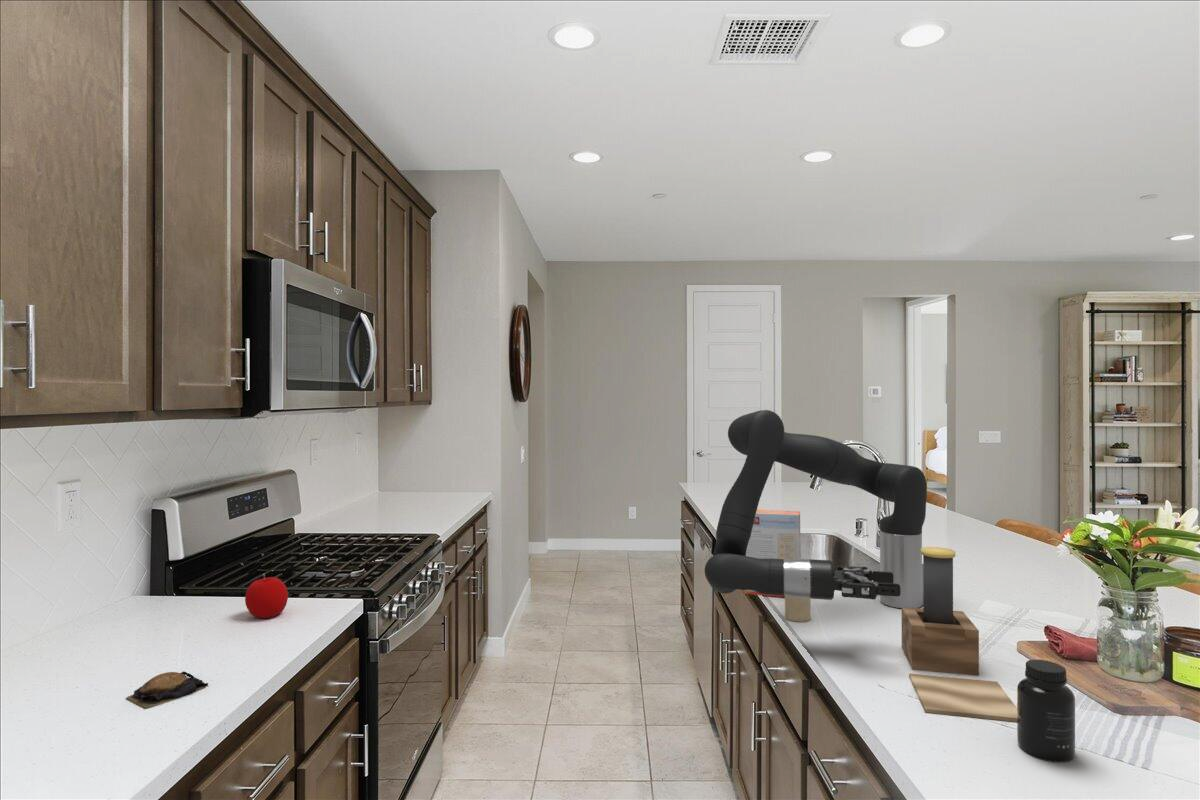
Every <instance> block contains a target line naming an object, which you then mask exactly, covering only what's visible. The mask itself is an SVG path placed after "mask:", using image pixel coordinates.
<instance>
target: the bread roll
mask: <svg viewBox="0 0 1200 800" xmlns="http://www.w3.org/2000/svg"><path fill="white" fill-rule="evenodd" d="M207 687H209V683H208V682H204V681H203V679H200V678H197V677H195V676H194V675H193V674H191V673H188V672H187V671H184V670H183V671H181V672H178V671H177V672H176V671H167V672H162V673H160V674H158V675H155V676H154V677H152V678H150V679H149V680H148V681H146V682H145V683H144V684H143V685H142V686H140V687H139V688H137V689H135V690H134V692H133V694H131V695H129V696H126V698H125V700H127V701H128V702H130V703H132V704H134V705H136V706H138V707H139V708H141V709H144V710H147V709H151V708H154V707H157V706H160V705H164V704H168V703H169V702H172V701H175V700H179V699H181V698H184V697H186V696H189V695H191V694H195V693H197V692H199V691H202V690H205V689H206V688H207Z"/></svg>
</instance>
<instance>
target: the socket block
mask: <svg viewBox="0 0 1200 800" xmlns="http://www.w3.org/2000/svg"><path fill="white" fill-rule="evenodd" d="M979 632H980V630H979V629H978V628H977V627H976V626H975V624H974V623H973V622H972V621H971V619H970V618H969V617H968V616H967V615H966V613H965V612H964V611H961V610H953V625H951V624H937V623H924V622H923V608H921V607H919V608H906V607H902V608H901V649H902V651H903V654H904V656H905V658H906V659H907V662H908V664H909V666H910V668H911V670H914V671H915V670H916V671H918V670H919V671H927V672H939V673H949V674H960V675H973V676H979V675H980V633H979Z"/></svg>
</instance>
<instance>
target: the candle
mask: <svg viewBox="0 0 1200 800" xmlns="http://www.w3.org/2000/svg"><path fill="white" fill-rule="evenodd" d="M811 606H812V605H811V599H809V598H796V597H790V596H785V597H784V618H785V619H786V620H788V621H791V622H796V623H805V622H809V621H810V620H811V612H812V611H811Z"/></svg>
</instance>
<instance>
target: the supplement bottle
mask: <svg viewBox="0 0 1200 800" xmlns="http://www.w3.org/2000/svg"><path fill="white" fill-rule="evenodd" d="M1024 677H1026V678H1022V679H1021V680H1020V681H1019V682H1018V684H1017V688H1016V689H1017V690H1016V692H1017V693H1016V694H1017V697H1016V698H1017V699H1016V701H1017V703H1016V707H1017V722H1016V723H1017V724H1016V725H1017V727H1016V730H1017V733H1016V734H1017V736H1016V737H1017V743H1018V745H1019V747H1020V748H1021V749H1022V750H1023V751H1025V753H1028V754H1029V755H1031V756H1033V757H1035V758H1038V759H1039V760H1040V759H1041V760H1045V761H1048V762H1056V763H1061V762H1062V763H1063V762H1068V761H1071V760H1072V759H1074V757H1075V755H1076V754H1075V753H1076V696H1075V694H1074V692H1073V690H1071V689H1070V688H1069V686H1068V685H1067V683H1068V679H1067V669H1066V667H1065V666H1063V665H1061V664H1059V663H1057V662H1054V661H1049V660H1044V659H1030V660H1027V661H1026V662H1025V671H1024Z"/></svg>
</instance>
